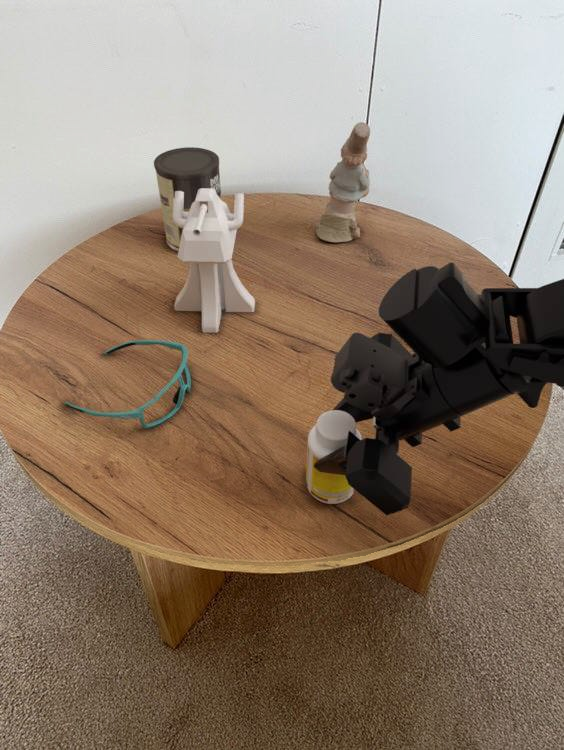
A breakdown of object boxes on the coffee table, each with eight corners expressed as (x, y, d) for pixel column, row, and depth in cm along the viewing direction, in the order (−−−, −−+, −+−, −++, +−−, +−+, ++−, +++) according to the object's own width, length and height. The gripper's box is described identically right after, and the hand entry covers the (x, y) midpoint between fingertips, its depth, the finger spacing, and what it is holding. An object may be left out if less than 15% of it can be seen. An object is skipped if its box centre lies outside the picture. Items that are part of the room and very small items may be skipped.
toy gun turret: (167, 336, 83) (146, 223, 70) (182, 282, 92) (166, 173, 80) (251, 338, 82) (245, 224, 70) (257, 283, 92) (253, 175, 79)
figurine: (357, 249, 99) (370, 131, 85) (310, 241, 101) (314, 124, 87) (368, 224, 105) (381, 109, 91) (323, 216, 107) (329, 103, 93)
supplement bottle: (364, 497, 63) (374, 437, 56) (317, 512, 62) (321, 453, 55) (343, 459, 67) (350, 398, 60) (298, 472, 66) (300, 411, 59)
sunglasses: (166, 443, 69) (156, 414, 65) (60, 423, 73) (45, 395, 70) (211, 365, 78) (204, 336, 75) (115, 352, 83) (104, 324, 79)
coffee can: (235, 231, 104) (230, 153, 94) (206, 260, 97) (197, 179, 87) (186, 218, 107) (176, 142, 97) (154, 245, 100) (140, 166, 90)
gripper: (400, 263, 54) (284, 338, 64) (386, 408, 41) (242, 476, 50) (468, 338, 59) (350, 398, 68) (475, 490, 46) (328, 539, 55)
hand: (321, 445), depth 60 cm, fingers closed on supplement bottle, 5 cm apart
